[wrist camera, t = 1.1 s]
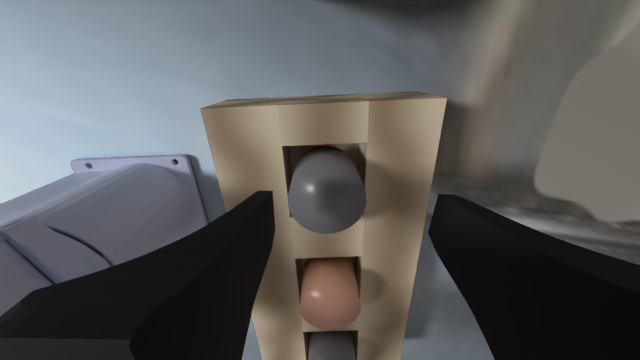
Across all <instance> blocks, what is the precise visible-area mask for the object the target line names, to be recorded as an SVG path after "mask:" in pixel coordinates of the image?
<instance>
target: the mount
mask: <svg viewBox="0 0 640 360" xmlns="http://www.w3.org/2000/svg"><path fill="white" fill-rule="evenodd" d="M446 101H447V98H446V97H441V96H436V95H431V94H426V93H421V92H417V91H416V92H394V93H371V94H348V95H326V96H303V97H281V98H258V99H235V100H226V101H223V102H219V103H216V104H213V105H210V106H207V107H204V108H201V109H200V110H201V114H202V118H203V122H204V126H205V130H206V134H207V138H208V142H209V146H210V150H211V154H212V158H213V162H214V166H215V170H216V174H217V178H218V182H219V186H220V190H221V194H222V198H223V202H224V206H225V210H226V213H227V212H228V211H230V210H231V209H233V208H234V207H235V206H237V205H238V204H240V203H241V202H242V201H244V200H245V199H247V198H248V197H249V196H251V195H252V194H254V193H255V192H257V191H258V190H261V191H273V204H274V218H275V234H274V240H273V245H272V250H271V253H270V256H269V259H268V262H267V265H266V268H265V271H264V274H263V277H262V280H261V283H260V286H259V289H258V292H257V295H256V299H255V302H254V306H253V309H252V314H251V315H252V319H253V323H254V327H255V331H256V335H257V339H258V343H259V347H260V351H261V355H262V359H263V360H309V335H310V333H311V332H316V331H345V330H350V331H351V333H352V337H353V344H354V352H355V360H400V358H401V352H402V347H403V341H404V336H405V330H406V324H407V319H408V313H409V308H410V302H411V297H412V291H413V285H414V280H415V274H416V269H417V263H418V258H419V252H420V246H421V241H422V235H423V230H424V224H425V219H426V213H427V207H428V202H429V196H430V191H431V185H432V180H433V174H434V168H435V163H436V157H437V152H438V146H439V140H440V135H441V129H442V124H443V118H444V113H445V107H446ZM319 146H332V147H336V148H339V149H341V150H343V151H344V152H346V153H347V154H348V155H349V156H350V157H351V158H352V160H353V161H354V163H355V166H356V168H357V171H358V173H359V176H360V178H361V181H362V183H363V186H364V188H365V191H366V206H365V210H364V212H363V214H362V216H361V217H360V219H359V220H358V221H357V222H356V223H355V224H354V225H352V226H351V227H349V228H348V229H346V230H343V231H341V232H337V233H332V234H321V233H316V232H312V231H309V230H307V229H305V228H304V227H302V226H301V225H300V224H298V223H297V222H296V220H295V219H294V218H293V216H292V215H291V213H290V210H289V207H288V194H289V190H290V185H291V181H292V177H293V173H294V169H295V166H296V163H297V161H298V160H299V158H300V157H301V156H302V155H303V154H304V153H306V152H307V151H309V150H311V149H313V148H315V147H319ZM324 257H347V258H348V259H349V260H350V261H351V262H352V264H353V266H354V271H355V276H356V282H357V287H358V293H359V298H360V304H361V312H360V315H359V316H358V318H357V319H356V320H355V321H354V322H353V323H351V324H349V325H347V326H345V327H342V328H338V329H322V328H318V327H315V326H312V325H310V324H309V323H307V322H306V321H305V320H304V319H303V317H302V315H301V312H300V304H301V291H302V277H303V268H304V265H305V263H306V262H307V261H308V260H309V259H310V258H324Z"/></svg>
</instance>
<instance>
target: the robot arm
mask: <svg viewBox="0 0 640 360" xmlns="http://www.w3.org/2000/svg"><path fill="white" fill-rule="evenodd" d="M174 159H176V160H177V161H178V163H176V162H175V161H174ZM90 164H91V165H92V166H91V165H90ZM70 165H71V168H72V170H73V171H74V174H71V175H69V176H66V177H64V178H62V179H59V180H57V181H55V182H52V183H50V184H47V185H45V186H43V187H40V188H38V189H35V190H33V191H31V192H28V193H26V194H24V195H21V196H19V197H16V198H14V199H12V200H9V201H7V202H4V203H2V204H0V360H241V359H242V355H243V350H244V345H245V340H246V336H247V331H248V327H249V322H250V318H251V314H252V309H253V306H254V302H255V299H256V295H257V292H258V289H259V286H260V283H261V280H262V277H263V274H264V271H265V268H266V265H267V262H268V259H269V256H270V253H271V250H272V245H273V240H274V234H275V218H274V204H273V191H261V190H258V191H257V192H255V193H254V194H252V195H251V196H249V197H248V198H247V199H245V200H244V201H242V202H241V203H240V204H238V205H237V206H235V207H234V208H233V209H231V210H230V211H228V212H227V213H225V214H224V215H222V216H220V217H219V218H217V219H216V220H214V221H212V222H211V223H209V224H208V222H207V218H206V215H205V211H204V208H203V205H202V201H201V198H200V194H199V191H198V188H197V184H196V181H195V177H194V174H193V171H192V167H191V164H190V160H189V158H188V157H187V156H185V155H160V156H137V157H113V158H89V159H76V160H73V161H71V162H70ZM428 233H429V236H430V238H431V241H432V243H433V246H434V248H435V250H436V252H437V254H438V256H439V257H440V259H441V261H442V262H443V264H444V266H445V267H446V269H447V271H448V272H449V274H450V276H451V277H452V279H453V280H454V282H455V284H456V285H457V287H458V289H459V290H460V292H461V293H462V295H463V297H464V298H465V300H466V302H467V303H468V305H469V307H470V309H471V311H472V312H473V314H474V316H475V318H476V321H477V323H478V325H479V327H480V329H481V331H482V333H483V335H484V337H485V339H486V341H487V343H488V346H489V348H490V350H491V352H492V354H493V357H494V359H495V360H640V265H637V264H634V263H630V262H627V261H624V260H620V259H617V258H614V257H611V256H607V255H604V254H601V253H598V252H595V251H592V250H589V249H585V248H583V247H580V246H577V245H574V244H571V243H568V242H566V241H563V240H560V239H557V238H555V237H552V236H549V235H547V234H544V233H542V232H539V231H537V230H534V229H532V228H530V227H527V226H525V225H522V224H520V223H518V222H515V221H513V220H511V219H509V218H506V217H504V216H502V215H500V214H498V213H495V212H493V211H491V210H489V209H487V208H485V207H482V206H480V205H478V204H476V203H473V202H471V201H469V200H467V199H464V198H462V197H459V196H456V195H452V194H439V195H438V198H437V202H436V206H435V209H434V213H433V217H432V220H431V224H430V228H429V231H428ZM179 237H183V238H181V239H179V240H177V239H178V238H179Z"/></svg>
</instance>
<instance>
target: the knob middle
mask: <svg viewBox="0 0 640 360" xmlns="http://www.w3.org/2000/svg"><path fill="white" fill-rule="evenodd" d="M300 312H301V315H302V317H303V319H304V320H305V321H306V322H307V323H309V324H310V325H312V326H315V327H318V328H322V329H338V328H342V327H345V326H347V325H349V324H351V323H353V322H354V321H355V320H356V319H357V318H358V316H359V315H360V312H361V304H360V298H359V293H358V287H357V282H356V276H355V271H354V266H353V264H352V262H351V261H350V260H349V259H348V258H347V257H324V258H310V259H309V260H308V261H307V262H306V263H305V265H304V268H303V277H302V291H301V304H300Z"/></svg>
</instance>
